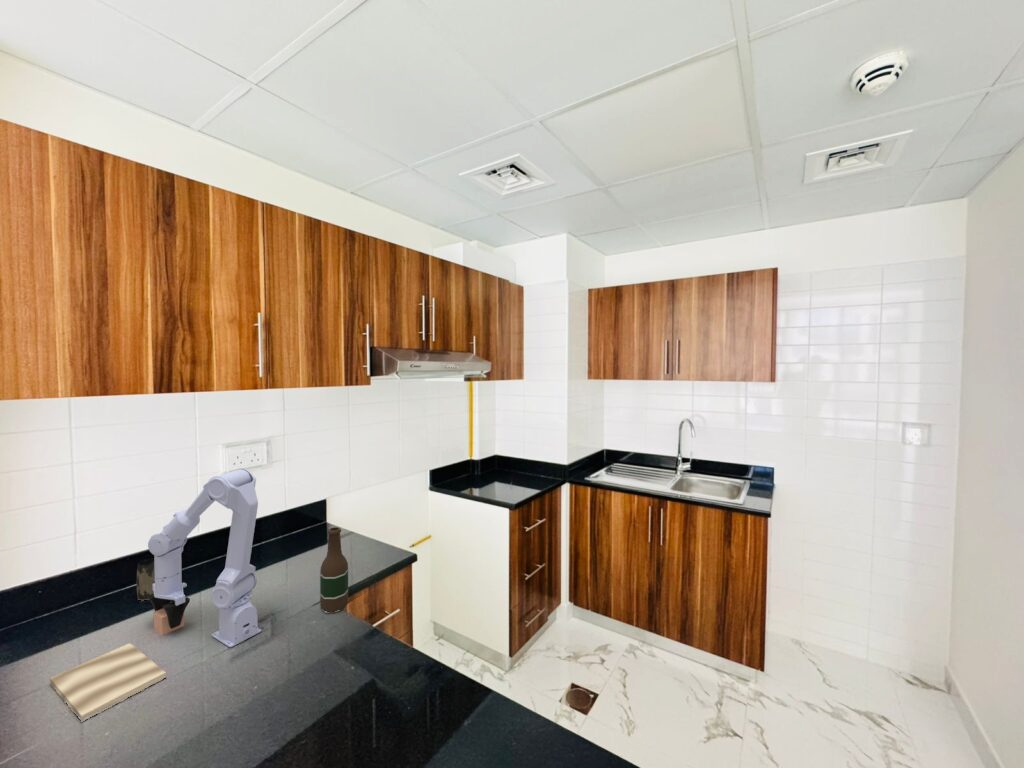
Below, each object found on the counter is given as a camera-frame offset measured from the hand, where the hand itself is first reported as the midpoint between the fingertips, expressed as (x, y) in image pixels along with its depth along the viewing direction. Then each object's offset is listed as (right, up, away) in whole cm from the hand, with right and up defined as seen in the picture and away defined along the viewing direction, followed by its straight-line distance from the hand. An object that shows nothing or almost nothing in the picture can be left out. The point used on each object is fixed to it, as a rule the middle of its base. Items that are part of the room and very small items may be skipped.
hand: (168, 622), depth 115 cm
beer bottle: (+41, -2, +11) cm, 42 cm away
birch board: (+3, -2, -20) cm, 20 cm away
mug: (-18, -1, +16) cm, 25 cm away
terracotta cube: (0, -2, 0) cm, 2 cm away
